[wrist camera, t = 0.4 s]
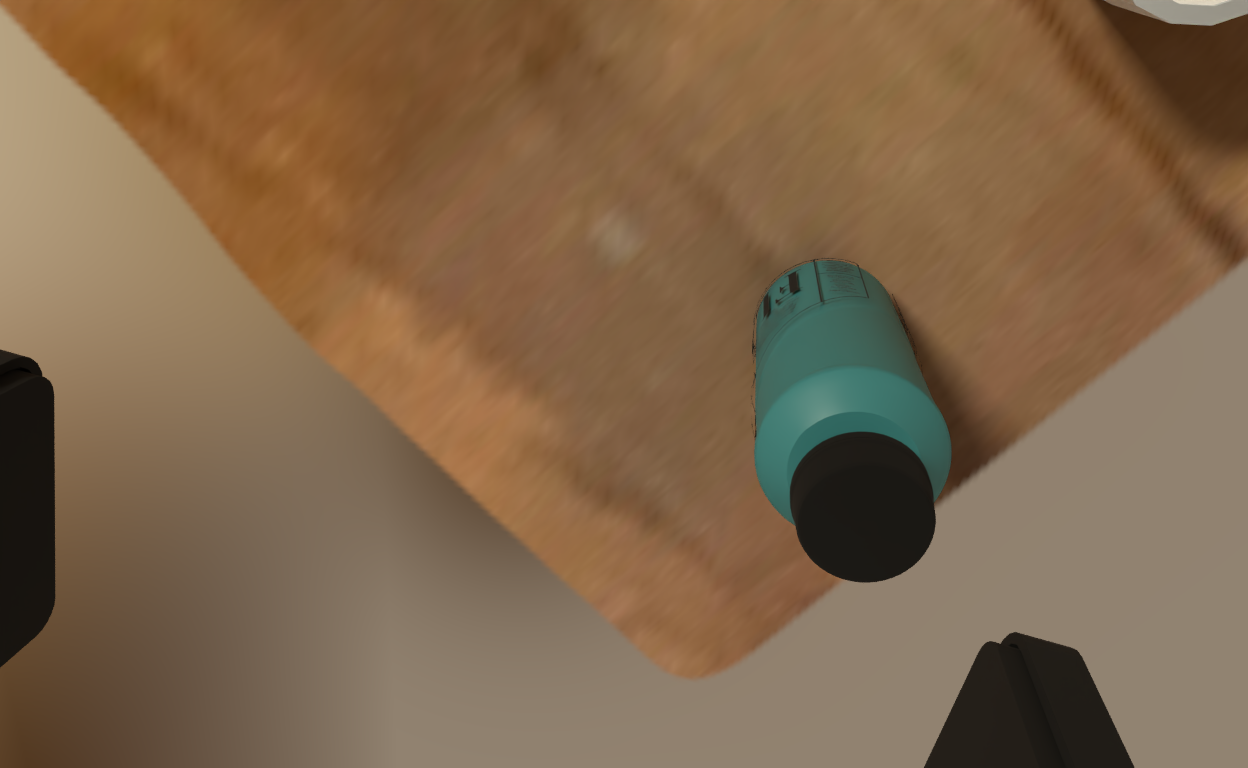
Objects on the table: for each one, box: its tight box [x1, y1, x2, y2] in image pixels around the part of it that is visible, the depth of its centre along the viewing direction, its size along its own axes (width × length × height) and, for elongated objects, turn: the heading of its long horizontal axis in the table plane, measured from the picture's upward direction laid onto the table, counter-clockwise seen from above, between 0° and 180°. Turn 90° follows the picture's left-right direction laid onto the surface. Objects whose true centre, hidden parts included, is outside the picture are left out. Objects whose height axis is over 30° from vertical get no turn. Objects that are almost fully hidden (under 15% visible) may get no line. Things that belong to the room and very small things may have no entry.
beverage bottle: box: [751, 258, 951, 582], centre depth 36 cm, size 6×7×20 cm
